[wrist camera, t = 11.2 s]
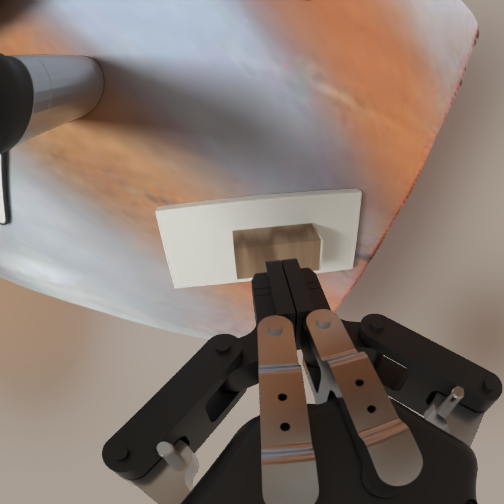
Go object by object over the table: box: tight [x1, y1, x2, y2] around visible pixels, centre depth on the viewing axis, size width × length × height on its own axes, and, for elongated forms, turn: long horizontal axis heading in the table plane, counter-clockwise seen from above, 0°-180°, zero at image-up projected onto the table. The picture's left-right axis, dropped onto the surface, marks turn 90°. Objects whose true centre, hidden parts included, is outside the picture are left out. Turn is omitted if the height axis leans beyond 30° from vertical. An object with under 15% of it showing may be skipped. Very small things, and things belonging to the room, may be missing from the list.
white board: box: [155, 188, 362, 288], centre depth 46 cm, size 30×14×2 cm, turn 94°
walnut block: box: [232, 223, 323, 279], centre depth 44 cm, size 5×5×12 cm
